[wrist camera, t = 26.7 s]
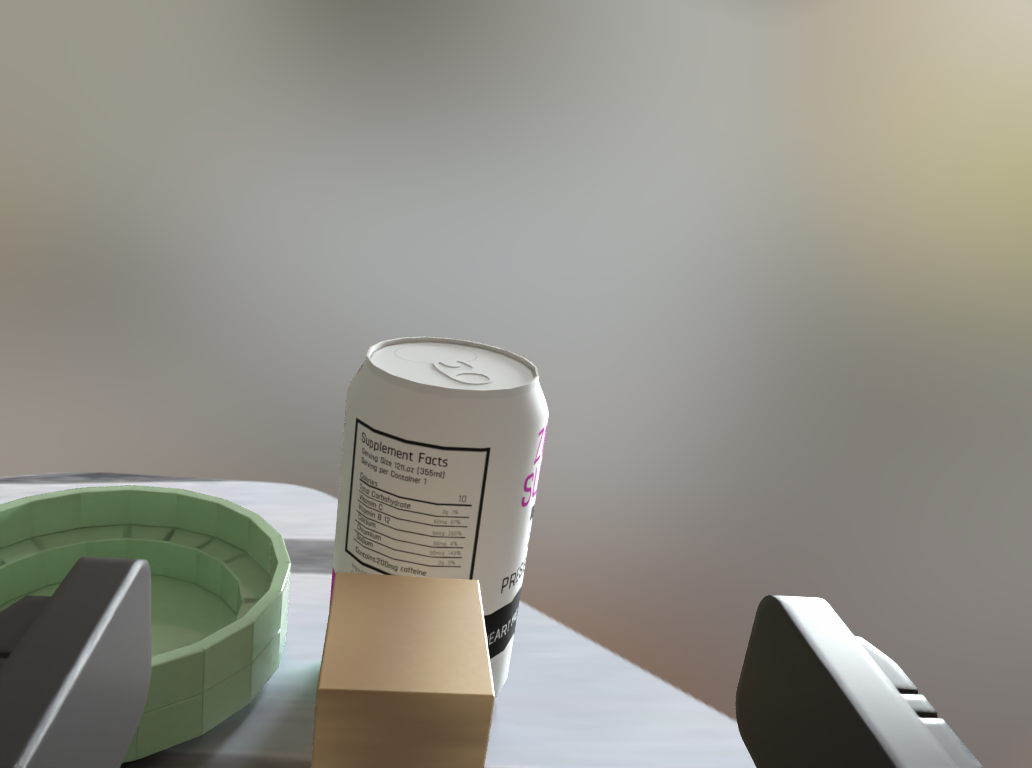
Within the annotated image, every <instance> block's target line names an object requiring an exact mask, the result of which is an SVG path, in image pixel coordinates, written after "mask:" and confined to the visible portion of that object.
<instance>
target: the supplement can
mask: <svg viewBox="0 0 1032 768" xmlns="http://www.w3.org/2000/svg"><path fill="white" fill-rule="evenodd" d="M538 379H539V374H538V369H537V367H536V366H535V365H534V364H533V363H531V362H530V361H529V360H528V359H526V358H524V357H522V356H520V355H517V354H515V353H513V352H510V351H508V350H505V349H502V348H498V347H494V346H491V345H487V344H483V343H478V342H472V341H466V340H460V339H451V338H438V337H406V338H405V337H404V338H398V339H392V340H386V341H382V342H380V343H378V344H376V345H373V346H371V347H370V348H369V350H368V353H367V355H366V360H365V362H364V363H363V365H362V366H361V368H360V369H359V370H358V372H357V373H356V375H355V377H354V378H353V379H352V381H351V384H350V386H349V388H348V390H347V399H346V411H345V423H344V436H343V449H342V461H341V474H340V486H339V498H338V510H337V523H336V535H335V547H334V560H333V572H332V585H331V597H330V604H331V598H332V592H333V585H334V579H335V574H336V572H345V573H362V574H379V575H397V576H414V577H431V578H449V579H466V580H478V581H479V586H480V593H481V600H482V607H483V614H484V621H485V629H486V636H487V643H488V650H489V657H490V664H491V671H492V679H493V686H494V693H495V698H496V697H497V696H498V694H499V692H500V690H501V688H502V687H503V685H504V683H505V681H506V679H507V676H508V670H509V663H510V657H511V651H512V644H513V638H514V632H515V625H516V619H517V613H518V606H519V600H520V594H521V587H522V581H523V574H524V568H525V562H526V556H527V549H528V543H529V536H530V530H531V523H532V517H533V511H534V505H535V498H536V492H537V486H538V479H539V473H540V467H541V460H542V454H543V448H544V441H545V435H546V429H547V422H548V416H549V413H548V408H547V404H546V400H545V398H544V395H543V392H542V389H541V387H540V384H539V381H538ZM329 611H330V609H329Z"/></svg>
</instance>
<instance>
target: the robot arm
mask: <svg viewBox="0 0 1032 768" xmlns="http://www.w3.org/2000/svg"><path fill="white" fill-rule="evenodd" d="M150 677H151V571H150V565H149V563H148V561H147V560H144V559H126V558H107V557H89V556H83V557H81V558H79V559H78V560H77V562H76V563H75V564H74V566H73V567H72V568H71V570H70V571H69V573H68V574H67V575H66V577H65V578H64V580H63V581H62V582H61V584H60V585H59V587H58V588H57V589H56V591H55V592H54V594H53V595H52V596H32V595H27V596H25V597H23V598H22V599H20V600H19V601H17V602H15V603H14V604H12V605H11V606H9V607H8V608H6V609H4V610H3V611H1V612H0V768H120V766H121V764H122V762H123V759H124V757H125V755H126V752H127V750H128V748H129V745H130V743H131V741H132V739H133V736H134V734H135V732H136V729H137V727H138V725H139V722H140V720H141V717H142V714H143V711H144V708H145V704H146V700H147V696H148V691H149V685H150ZM736 717H737V723H738V728H739V731H740V734H741V737H742V739H743V741H744V743H745V745H746V747H747V749H748V751H749V753H750V755H751V757H752V759H753V761H754V763H755V765H756V767H757V768H983V767H982V766H981V764H980V763H979V762H978V761H977V760H976V758H975V757H974V756H973V755H972V753H971V752H970V751H969V750H968V749H967V748H966V746H965V745H964V744H963V743H962V742H961V740H960V739H959V738H958V737H957V736H956V734H955V733H954V732H953V731H952V730H951V728H950V727H949V726H948V725H947V724H946V722H945V721H944V720H943V719H938V717H937V712H936V710H935V709H934V708H933V707H932V706H931V704H930V703H929V702H928V701H927V700H926V699H925V697H924V696H923V695H918V689H917V688H916V686H915V685H914V684H913V683H912V682H911V680H910V679H909V678H908V677H907V676H906V675H905V673H904V672H903V671H902V670H901V668H900V667H899V666H898V665H897V664H896V662H894V661H893V660H892V659H891V658H889V657H888V656H886V655H885V654H884V653H882V652H881V651H879V650H878V649H877V648H875V647H874V646H872V645H871V644H870V643H868V642H867V641H865V640H864V639H863V638H861V637H855V636H854V635H853V634H852V633H851V631H850V630H849V629H848V628H847V626H846V625H845V624H844V623H843V621H842V620H841V619H840V618H839V616H838V615H837V614H836V613H835V611H834V610H833V609H832V608H831V606H830V605H829V604H828V603H827V602H826V601H825V600H823V599H821V598H813V597H794V596H775V595H768V596H766V597H764V598H763V599H762V601H761V602H760V604H759V606H758V609H757V612H756V616H755V620H754V624H753V628H752V632H751V636H750V640H749V644H748V648H747V652H746V656H745V660H744V664H743V667H742V672H741V675H740V679H739V683H738V687H737V693H736Z"/></svg>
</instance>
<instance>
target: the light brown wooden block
mask: <svg viewBox="0 0 1032 768" xmlns="http://www.w3.org/2000/svg"><path fill="white" fill-rule="evenodd" d="M494 700H495V693H494V686H493V679H492V671H491V664H490V657H489V650H488V643H487V636H486V629H485V621H484V614H483V607H482V600H481V593H480V586H479V581H478V580H466V579H449V578H431V577H414V576H397V575H379V574H362V573H345V572H336V574H335V579H334V585H333V592H332V598H331V604H330V611H329V617H328V623H327V630H326V636H325V642H324V649H323V655H322V661H321V668H320V674H319V680H318V687H317V696H316V709H315V722H314V735H313V748H312V761H311V768H484V765H485V759H486V752H487V746H488V739H489V733H490V726H491V720H492V713H493V707H494Z"/></svg>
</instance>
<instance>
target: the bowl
mask: <svg viewBox="0 0 1032 768" xmlns="http://www.w3.org/2000/svg"><path fill="white" fill-rule="evenodd" d="M83 556H89V557H107V558H126V559H144V560H147V561H148V563H149V565H150V571H151V677H150V685H149V691H148V696H147V700H146V704H145V708H144V711H143V714H142V717H141V720H140V722H139V725H138V727H137V729H136V732H135V734H134V736H133V739H132V741H131V743H130V745H129V748H128V750H127V752H126V755H125V757H124V759H123V762H122V763H124V762H130V761H136V760H137V759H141V758H144V757H147V756H149V755H152V754H154V753H157V752H160V751H162V750H165V749H167V748H170V747H173V746H175V745H178V744H180V743H183V742H186V741H188V740H191V739H193V738H196V737H199V736H201V735H203V734H205V733H206V732H208V731H209V730H211V729H212V728H214V727H215V726H217V725H218V724H220V723H221V722H223V721H224V720H226V719H227V718H229V717H230V716H232V715H233V714H235V713H236V712H238V711H239V710H241V709H242V708H244V707H245V706H247V705H248V704H249V702H251V701H252V699H253V698H254V697H255V696H256V694H257V693H258V692H259V691H260V690H261V688H262V687H263V686H264V685H265V683H266V682H267V681H268V680H269V679H270V677H271V676H272V675H273V674H274V672H275V671H276V670H277V668H278V666H279V663H280V659H281V655H282V651H283V648H284V644H285V640H286V636H287V621H288V605H289V588H290V572H291V561H290V558H289V555H288V552H287V549H286V546H285V543H284V540H283V537H282V536H281V535H280V534H279V533H278V532H277V531H276V530H275V529H274V528H273V527H272V526H271V525H270V524H269V523H267V522H266V521H265V520H264V519H263V518H262V517H261V516H260V515H258V514H256V513H254V512H251V511H249V510H247V509H245V508H243V507H241V506H238V505H236V504H234V503H232V502H230V501H228V500H224V499H222V498H218V497H213V496H209V495H205V494H201V493H196V492H192V491H188V490H184V489H182V490H181V489H174V488H162V487H149V486H136V485H133V486H132V485H126V486H106V487H86V488H75V489H69V490H63V491H58V492H52V493H46V494H40V495H35V496H29V497H25V498H21V499H17V500H14V501H11V502H8V503H5V504H1V505H0V612H1V611H3V610H4V609H6V608H8V607H9V606H11V605H12V604H14V603H15V602H17V601H19V600H20V599H22V598H23V597H25V596H27V595H32V596H52V595H53V594H54V592H55V591H56V589H57V588H58V587H59V585H60V584H61V582H62V581H63V580H64V578H65V577H66V575H67V574H68V573H69V571H70V570H71V568H72V567H73V566H74V564H75V563H76V562H77V560H78V559H79V558H81V557H83Z"/></svg>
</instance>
